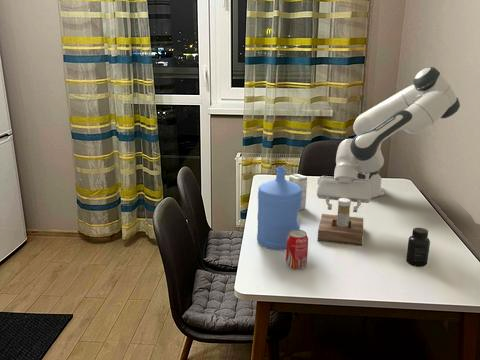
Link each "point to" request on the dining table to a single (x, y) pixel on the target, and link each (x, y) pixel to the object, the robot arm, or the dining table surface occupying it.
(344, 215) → the sprinkles bottle
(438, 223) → the dining table surface
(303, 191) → the syrup box
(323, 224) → the socket block
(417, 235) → the supplement bottle
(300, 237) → the soda can
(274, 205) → the water jug
